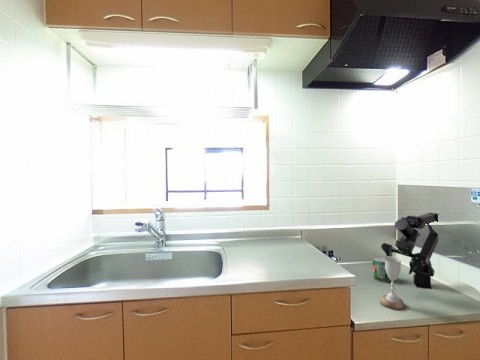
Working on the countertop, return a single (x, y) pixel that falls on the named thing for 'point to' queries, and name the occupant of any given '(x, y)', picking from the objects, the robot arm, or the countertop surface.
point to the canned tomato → (379, 270)
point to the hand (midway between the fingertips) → (398, 270)
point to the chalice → (392, 274)
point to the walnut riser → (391, 303)
